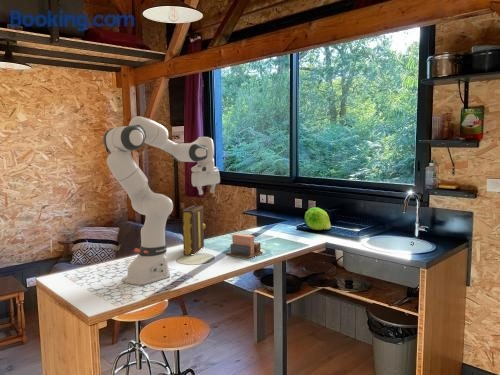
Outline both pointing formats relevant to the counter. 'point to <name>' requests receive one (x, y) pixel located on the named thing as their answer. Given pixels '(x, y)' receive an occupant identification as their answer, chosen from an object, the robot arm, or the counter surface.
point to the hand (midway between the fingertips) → (206, 193)
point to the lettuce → (317, 219)
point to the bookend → (240, 249)
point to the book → (193, 229)
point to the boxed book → (244, 241)
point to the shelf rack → (256, 252)
